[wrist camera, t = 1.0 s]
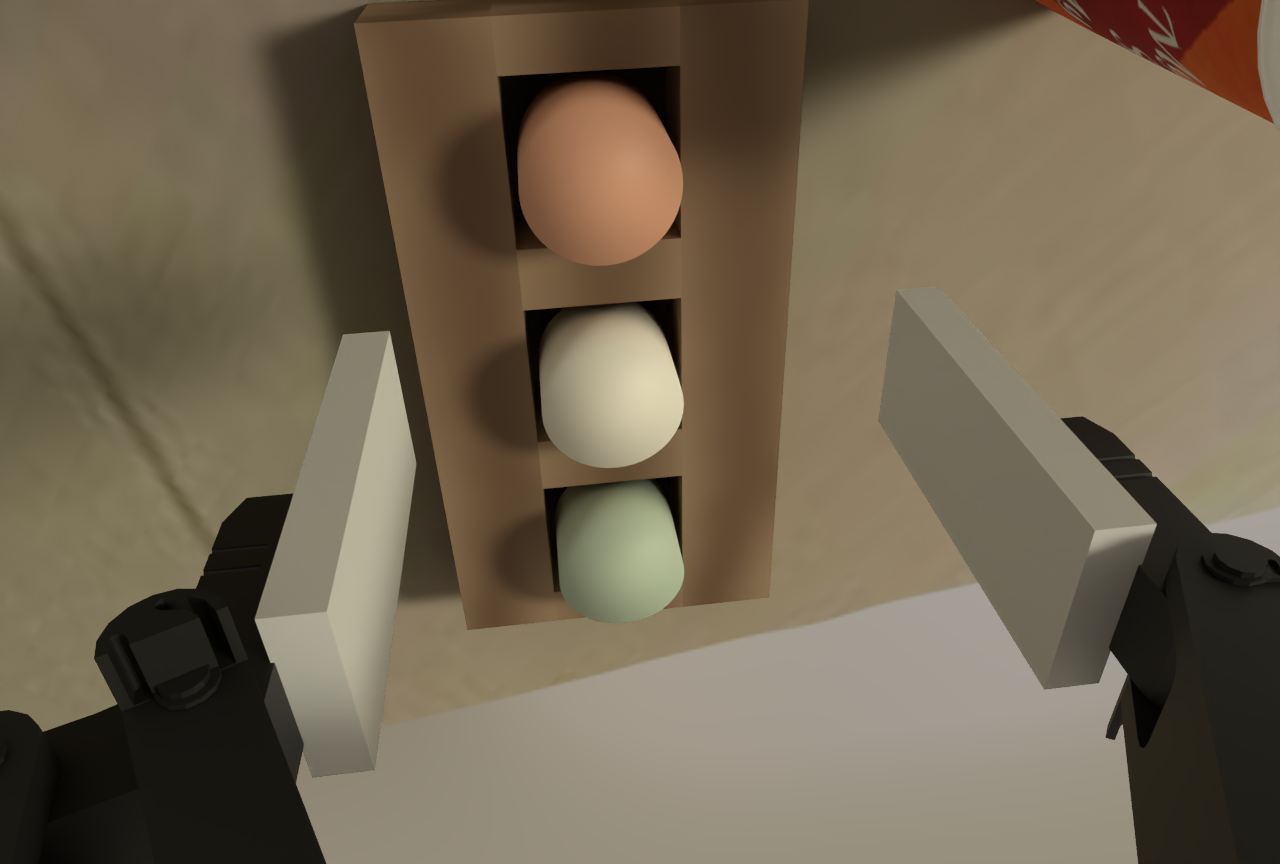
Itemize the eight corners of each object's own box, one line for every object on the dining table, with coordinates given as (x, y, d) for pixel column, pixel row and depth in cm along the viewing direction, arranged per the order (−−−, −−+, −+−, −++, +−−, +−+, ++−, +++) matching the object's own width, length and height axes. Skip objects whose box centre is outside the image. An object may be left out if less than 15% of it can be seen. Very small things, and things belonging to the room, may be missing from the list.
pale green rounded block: (559, 563, 36) (564, 629, 33) (550, 473, 34) (554, 536, 31) (670, 551, 37) (684, 616, 34) (668, 462, 34) (684, 523, 31)
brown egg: (524, 224, 29) (526, 271, 26) (509, 76, 26) (509, 109, 23) (665, 214, 29) (683, 259, 26) (662, 66, 27) (683, 98, 24)
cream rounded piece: (544, 414, 33) (548, 474, 30) (532, 300, 30) (535, 353, 27) (667, 403, 33) (684, 461, 30) (666, 290, 30) (683, 341, 28)
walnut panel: (469, 577, 39) (467, 630, 36) (368, 3, 26) (353, 23, 24) (752, 548, 40) (768, 597, 37) (781, -18, 27) (809, -1, 25)
